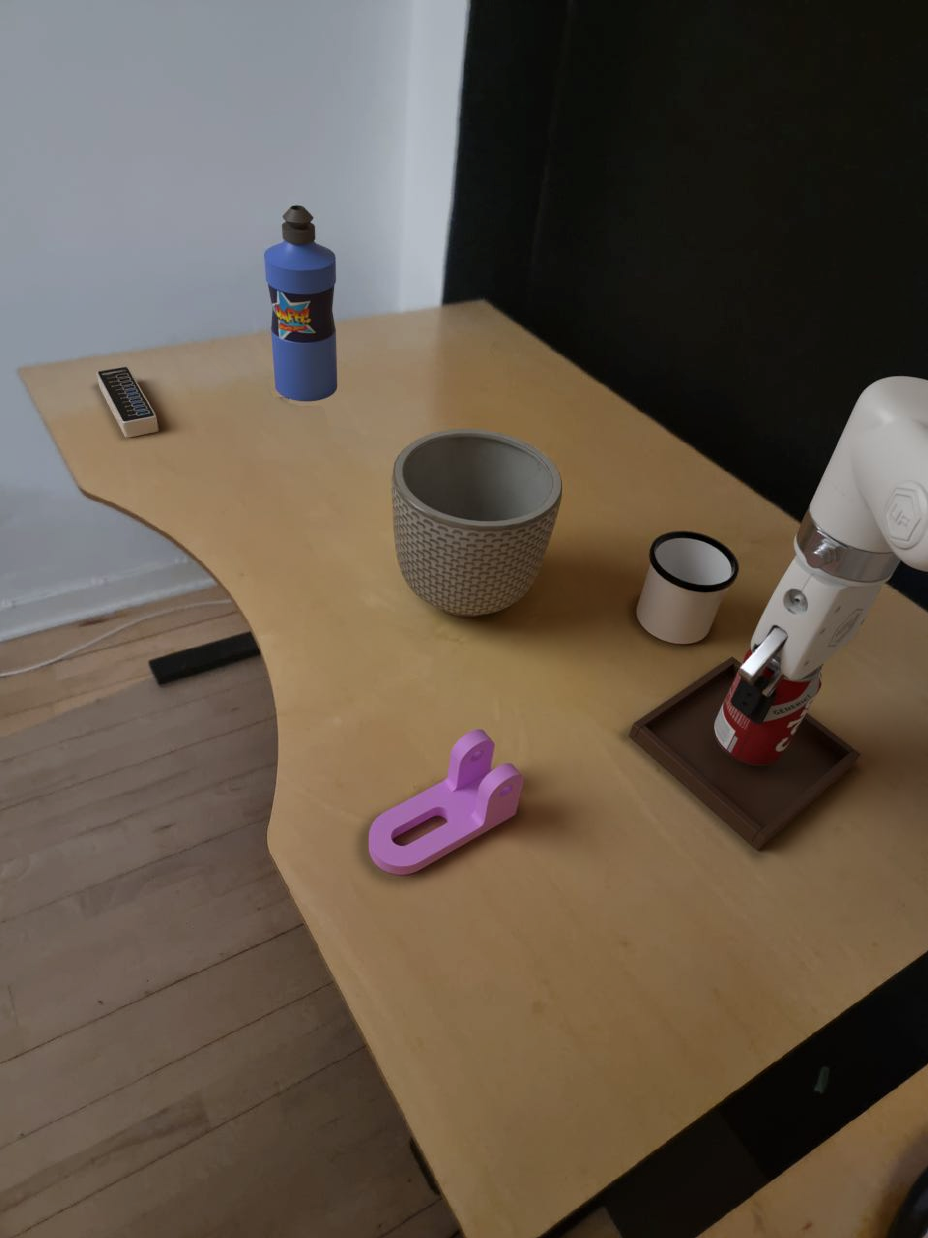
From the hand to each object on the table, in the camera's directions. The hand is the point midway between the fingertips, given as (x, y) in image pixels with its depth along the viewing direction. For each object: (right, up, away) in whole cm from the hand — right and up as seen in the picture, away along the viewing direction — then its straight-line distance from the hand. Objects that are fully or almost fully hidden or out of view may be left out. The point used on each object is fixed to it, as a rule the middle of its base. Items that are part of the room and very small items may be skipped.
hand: (771, 693), depth 76 cm
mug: (-3, +7, +20) cm, 21 cm away
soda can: (-1, -5, +5) cm, 7 cm away
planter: (-28, +10, +19) cm, 35 cm away
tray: (-1, -6, +6) cm, 9 cm away
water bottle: (-51, +41, +49) cm, 82 cm away
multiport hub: (-74, +36, +40) cm, 92 cm away
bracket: (-30, -11, -2) cm, 32 cm away
